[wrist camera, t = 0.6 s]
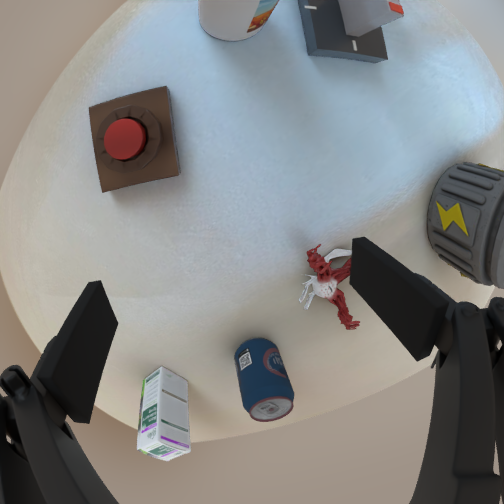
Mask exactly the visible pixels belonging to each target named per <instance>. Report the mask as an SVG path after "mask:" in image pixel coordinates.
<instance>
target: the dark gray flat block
mask: <svg viewBox="0 0 504 504" xmlns="http://www.w3.org/2000/svg"><path fill="white" fill-rule="evenodd" d="M298 3H299V8H300V13H301V18H302V23H303V28H304V34H305V39H306V45H307V51H308V55H309V56H323V57H334V58H343V59H351V60H358V61H365V62H371V63H378V62H381V61H384V60H388V57H387V52H386V46H385V42H384V37H383V33H382V28H381V26H380V27H378V28H376V29H374V30H372V31H370V32H368V33H365V34H363V35H362V36H360V37H357V36H351V35H346V31H345V26H344V22H343V17H342V13H341V9H340V5H339V1H338V0H298Z"/></svg>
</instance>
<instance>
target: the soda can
mask: <svg viewBox="0 0 504 504" xmlns="http://www.w3.org/2000/svg"><path fill="white" fill-rule="evenodd" d="M234 360H235V365H236V371H237V376H238V381H239V387H240V392H241V397H242V402H243V407H244V408H245V410H246V411H247V412H248V413H249V414H250V417H251V418H252V419H254V420H256V421H260V422H269V421H274V420H278V419H280V418H283V417H284V416H286V415H287V414H289V413H290V412H291V411H292V409H293V399H294V391H293V389H292V386H291V383H290V380H289V378H288V375H287V372H286V370H285V367H284V364H283V361H282V359H281V356H280V353H279V350H278V348H277V346H276V345H275V344H274V343H272V342H271V341H269V340H267V339H264V338H252V339H249V340H247V341H245V342H243V343H242V344H241V345H240V347H239V348H238V349H237V351H236V353H235V357H234Z"/></svg>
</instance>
